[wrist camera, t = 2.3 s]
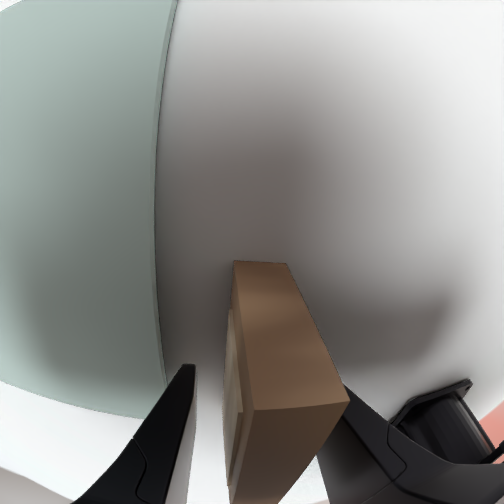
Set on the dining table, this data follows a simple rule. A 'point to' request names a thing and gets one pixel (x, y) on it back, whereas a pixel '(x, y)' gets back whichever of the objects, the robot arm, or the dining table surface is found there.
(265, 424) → the brown wooden block
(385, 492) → the robot arm
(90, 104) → the mat
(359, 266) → the dining table surface
